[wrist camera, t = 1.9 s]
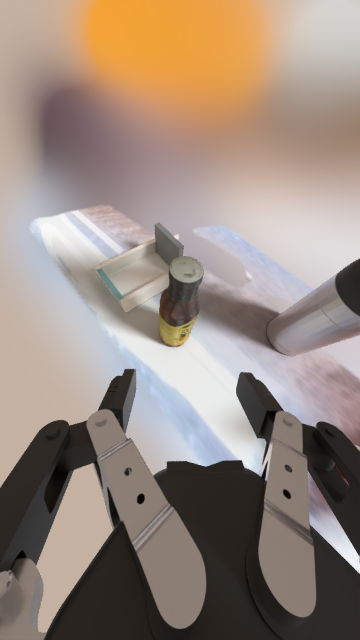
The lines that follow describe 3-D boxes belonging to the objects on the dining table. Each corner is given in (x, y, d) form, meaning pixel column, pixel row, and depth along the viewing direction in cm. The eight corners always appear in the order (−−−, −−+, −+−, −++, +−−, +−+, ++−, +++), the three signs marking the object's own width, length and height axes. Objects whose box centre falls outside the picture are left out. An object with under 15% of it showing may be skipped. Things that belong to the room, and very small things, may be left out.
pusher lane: (160, 248, 47) (160, 235, 43) (187, 275, 44) (189, 264, 40) (100, 278, 41) (94, 266, 37) (126, 313, 38) (122, 303, 34)
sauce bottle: (181, 353, 35) (201, 305, 17) (154, 340, 36) (146, 282, 18) (193, 326, 38) (220, 261, 20) (167, 315, 39) (172, 242, 21)
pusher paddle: (165, 246, 46) (166, 219, 39) (186, 267, 43) (190, 242, 36) (155, 251, 44) (154, 224, 38) (176, 273, 42) (179, 248, 35)
